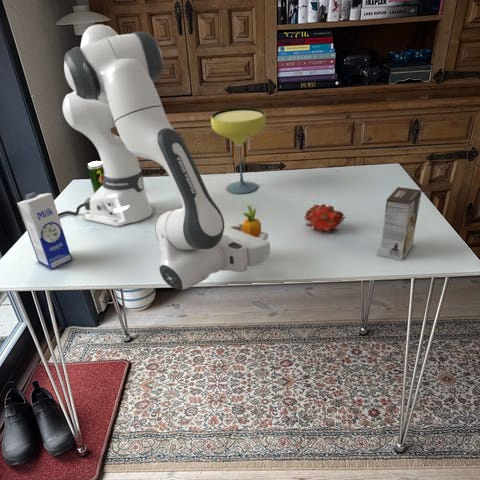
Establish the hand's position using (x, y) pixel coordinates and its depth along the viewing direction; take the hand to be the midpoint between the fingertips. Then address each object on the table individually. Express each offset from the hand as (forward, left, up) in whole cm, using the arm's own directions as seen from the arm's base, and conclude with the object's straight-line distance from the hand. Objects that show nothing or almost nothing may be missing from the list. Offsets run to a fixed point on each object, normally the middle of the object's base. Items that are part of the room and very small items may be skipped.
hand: (254, 230), depth 126 cm
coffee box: (+37, +11, -8) cm, 39 cm away
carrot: (0, -1, -8) cm, 8 cm away
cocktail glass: (-18, +47, -8) cm, 51 cm away
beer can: (-66, +31, -8) cm, 74 cm away
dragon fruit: (+16, +20, -8) cm, 27 cm away
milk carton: (-55, -14, -8) cm, 58 cm away
